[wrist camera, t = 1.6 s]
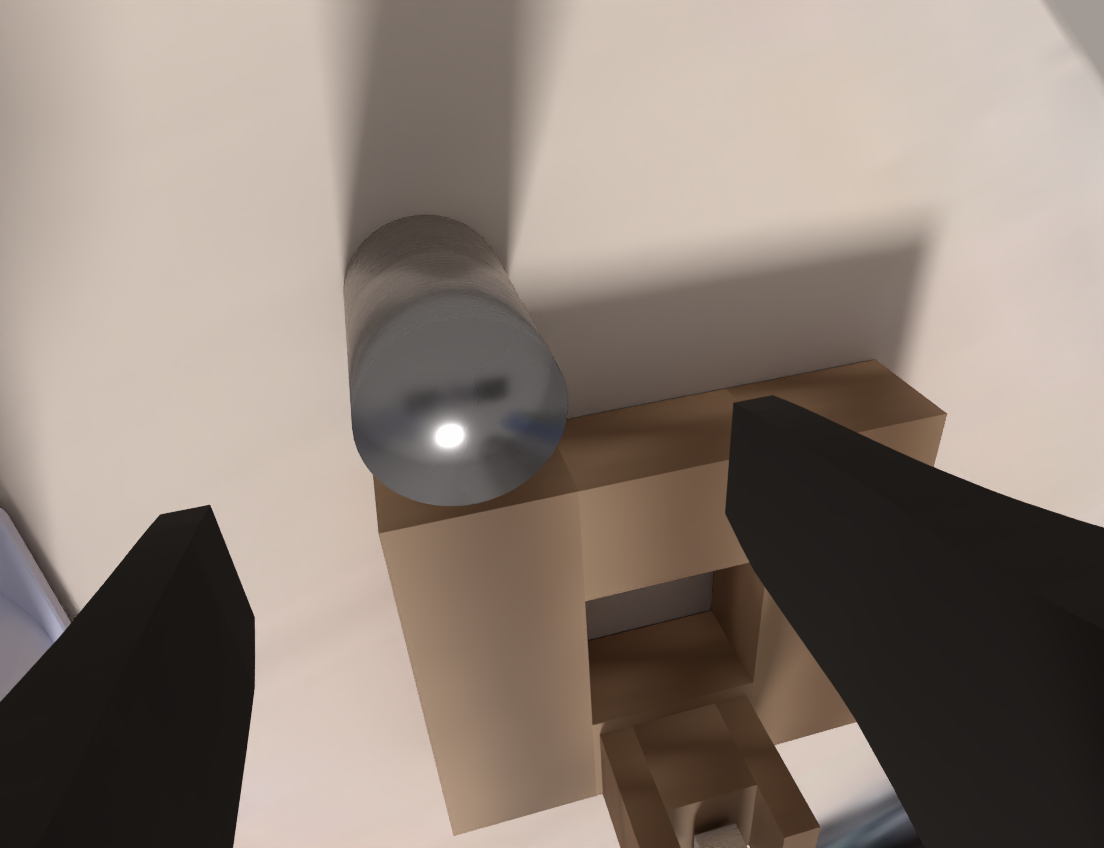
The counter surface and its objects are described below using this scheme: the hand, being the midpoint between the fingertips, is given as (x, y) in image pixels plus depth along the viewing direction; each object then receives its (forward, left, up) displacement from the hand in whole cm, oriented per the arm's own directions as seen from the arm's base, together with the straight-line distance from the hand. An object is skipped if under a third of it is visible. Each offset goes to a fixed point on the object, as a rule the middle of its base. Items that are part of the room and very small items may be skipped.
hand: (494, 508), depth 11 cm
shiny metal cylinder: (0, 0, -8) cm, 8 cm away
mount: (+5, -10, -8) cm, 14 cm away
